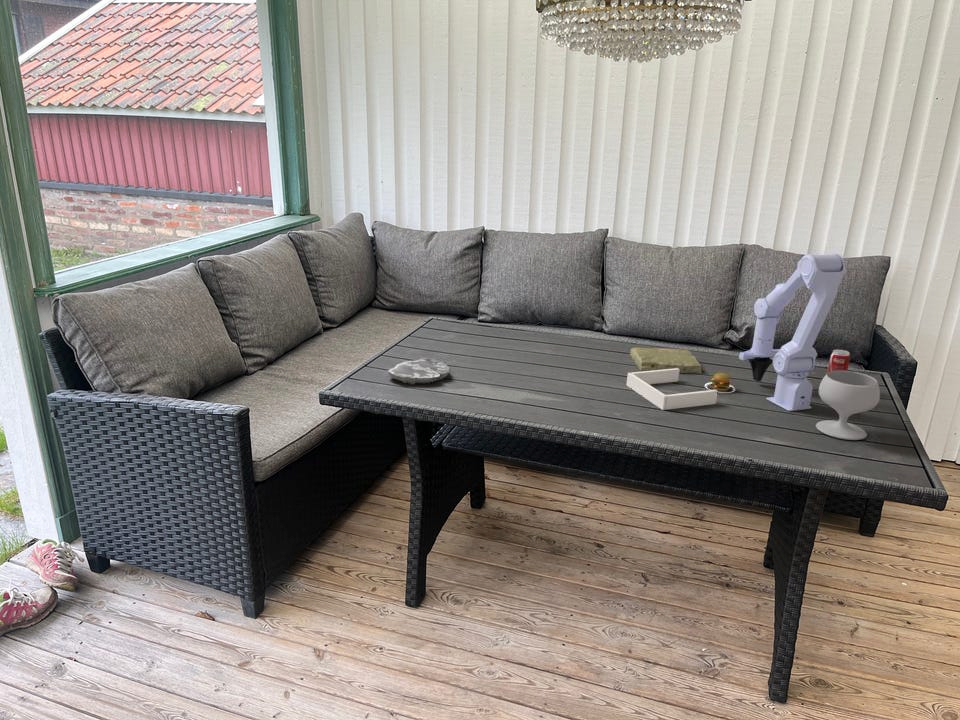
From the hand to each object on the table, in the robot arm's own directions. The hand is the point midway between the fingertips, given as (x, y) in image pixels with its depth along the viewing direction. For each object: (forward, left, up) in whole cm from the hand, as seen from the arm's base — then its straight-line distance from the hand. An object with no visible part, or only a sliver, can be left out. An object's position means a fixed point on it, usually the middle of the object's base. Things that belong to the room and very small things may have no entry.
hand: (757, 380), depth 213 cm
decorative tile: (+25, +17, -2) cm, 30 cm away
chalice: (-35, +2, -2) cm, 35 cm away
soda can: (-9, -21, -2) cm, 23 cm away
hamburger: (0, +13, -2) cm, 13 cm away
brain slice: (+33, +98, -2) cm, 103 cm away
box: (0, +31, -2) cm, 31 cm away
